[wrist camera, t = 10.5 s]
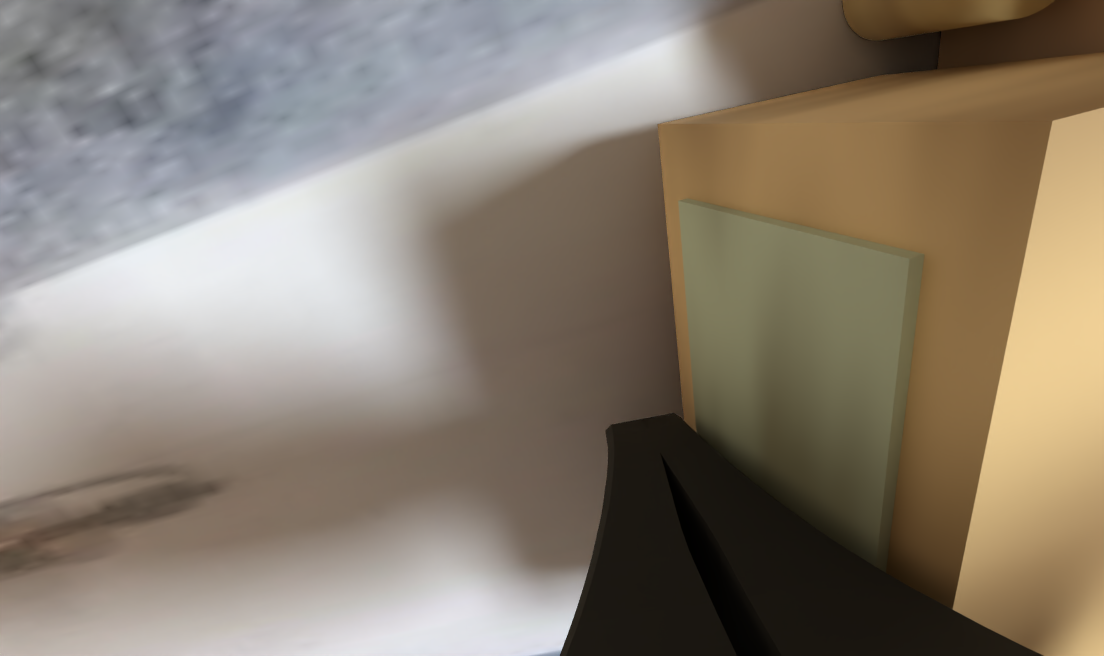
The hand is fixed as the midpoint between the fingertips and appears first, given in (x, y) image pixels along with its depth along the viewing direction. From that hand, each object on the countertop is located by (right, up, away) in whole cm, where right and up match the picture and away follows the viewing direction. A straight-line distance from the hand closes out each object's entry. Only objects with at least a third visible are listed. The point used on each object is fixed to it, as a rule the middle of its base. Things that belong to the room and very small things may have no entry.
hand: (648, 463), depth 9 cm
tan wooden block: (+3, +2, +1) cm, 3 cm away
